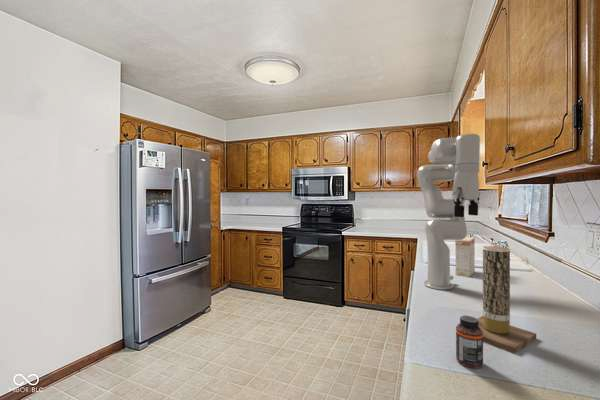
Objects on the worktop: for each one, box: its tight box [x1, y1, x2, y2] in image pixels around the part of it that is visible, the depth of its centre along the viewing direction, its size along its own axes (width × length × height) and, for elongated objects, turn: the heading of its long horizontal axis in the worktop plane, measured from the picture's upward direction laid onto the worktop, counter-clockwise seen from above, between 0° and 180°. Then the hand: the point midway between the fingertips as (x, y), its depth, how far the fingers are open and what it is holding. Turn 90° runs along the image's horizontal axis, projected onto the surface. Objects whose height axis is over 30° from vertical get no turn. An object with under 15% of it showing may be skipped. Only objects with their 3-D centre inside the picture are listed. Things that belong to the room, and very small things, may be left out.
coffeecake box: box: [454, 236, 476, 278], centre depth 160 cm, size 15×7×20 cm, turn 139°
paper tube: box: [482, 245, 511, 334], centre depth 88 cm, size 7×7×25 cm
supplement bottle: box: [455, 315, 484, 369], centre depth 73 cm, size 6×6×11 cm
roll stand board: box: [477, 316, 537, 354], centre depth 88 cm, size 15×15×2 cm
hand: (466, 216), depth 106 cm, fingers open, 9 cm apart
